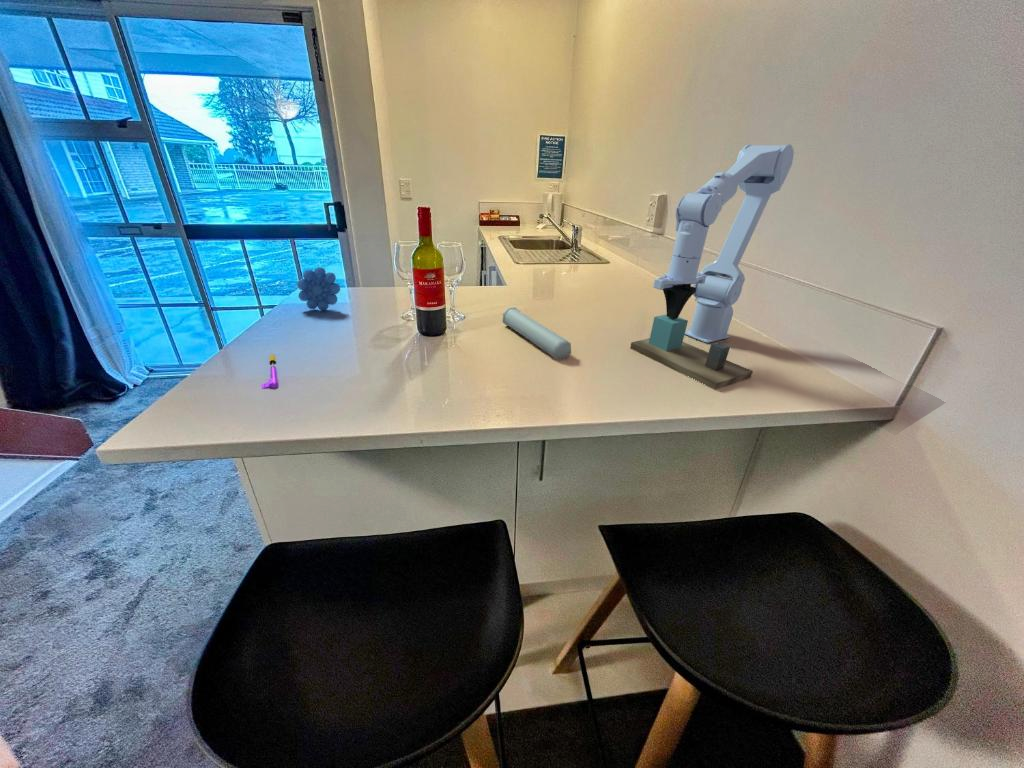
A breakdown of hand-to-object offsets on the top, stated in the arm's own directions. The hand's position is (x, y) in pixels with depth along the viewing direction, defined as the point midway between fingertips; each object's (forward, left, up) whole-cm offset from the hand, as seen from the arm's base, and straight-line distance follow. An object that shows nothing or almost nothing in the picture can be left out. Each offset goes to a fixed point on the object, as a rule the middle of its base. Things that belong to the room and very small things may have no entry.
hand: (672, 317), depth 91 cm
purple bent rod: (+81, -28, -9) cm, 86 cm away
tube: (+25, -18, -9) cm, 32 cm away
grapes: (+66, -63, -9) cm, 92 cm away
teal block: (0, 0, -7) cm, 7 cm away
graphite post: (0, +13, -7) cm, 15 cm away
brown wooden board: (0, +7, -8) cm, 11 cm away
